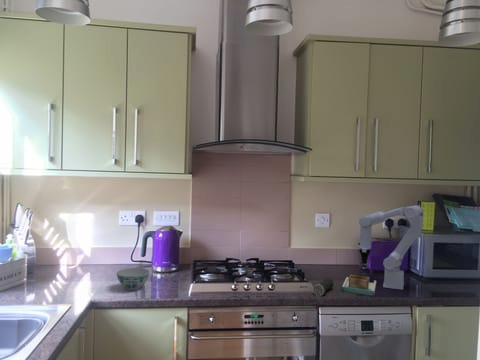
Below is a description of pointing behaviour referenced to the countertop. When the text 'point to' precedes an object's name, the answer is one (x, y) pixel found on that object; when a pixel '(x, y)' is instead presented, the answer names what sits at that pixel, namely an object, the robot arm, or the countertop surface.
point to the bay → (360, 291)
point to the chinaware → (133, 277)
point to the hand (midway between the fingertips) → (364, 263)
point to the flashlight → (323, 287)
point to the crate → (359, 282)
